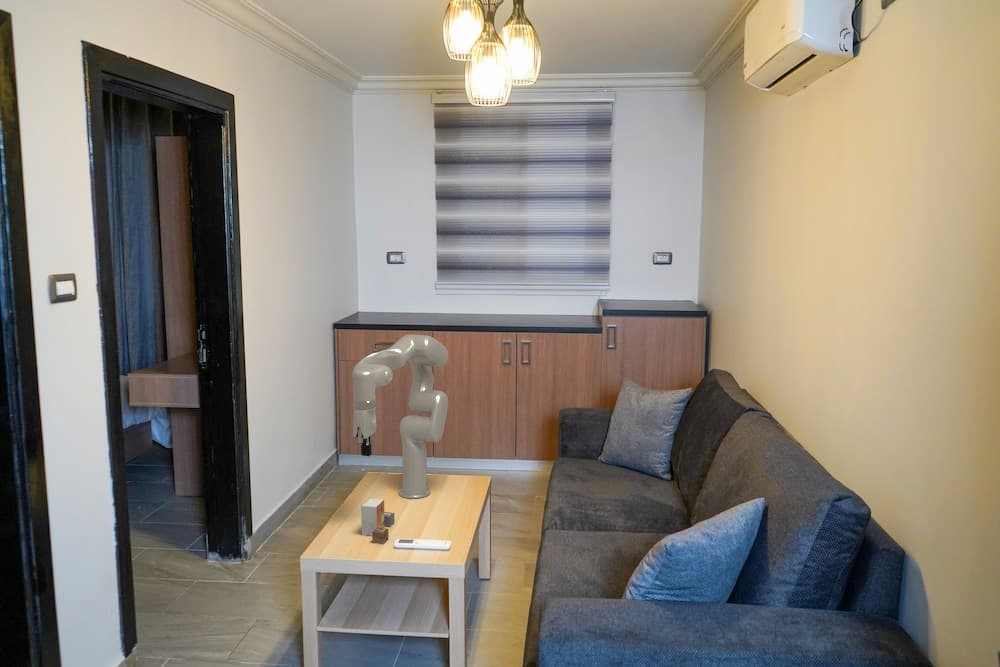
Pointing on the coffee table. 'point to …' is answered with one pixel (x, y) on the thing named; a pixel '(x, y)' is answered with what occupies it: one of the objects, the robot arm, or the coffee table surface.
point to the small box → (372, 515)
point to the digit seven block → (380, 536)
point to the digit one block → (388, 519)
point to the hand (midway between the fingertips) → (366, 455)
